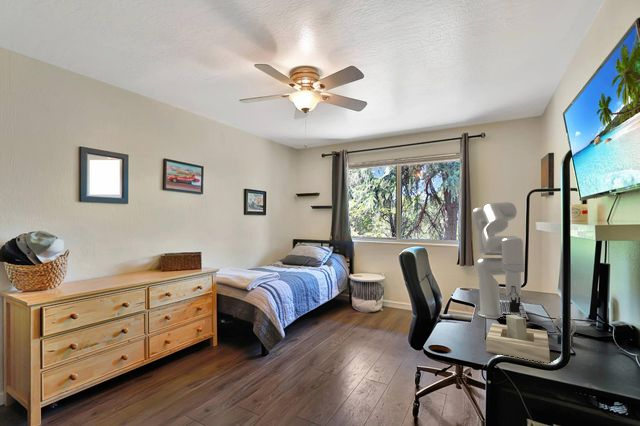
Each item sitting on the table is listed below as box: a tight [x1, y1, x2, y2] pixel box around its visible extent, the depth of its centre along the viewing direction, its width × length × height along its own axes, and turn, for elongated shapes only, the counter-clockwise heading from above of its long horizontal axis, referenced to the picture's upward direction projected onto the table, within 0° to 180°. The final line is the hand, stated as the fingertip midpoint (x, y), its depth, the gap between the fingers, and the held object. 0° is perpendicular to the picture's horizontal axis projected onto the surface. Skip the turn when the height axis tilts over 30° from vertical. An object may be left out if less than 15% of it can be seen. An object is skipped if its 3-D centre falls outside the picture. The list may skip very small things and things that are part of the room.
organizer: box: [485, 323, 551, 364], centre depth 122 cm, size 22×20×5 cm
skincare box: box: [505, 314, 528, 341], centre depth 122 cm, size 6×4×12 cm
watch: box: [551, 315, 578, 347], centre depth 125 cm, size 6×8×11 cm
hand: (515, 309), depth 123 cm, fingers open, 9 cm apart
